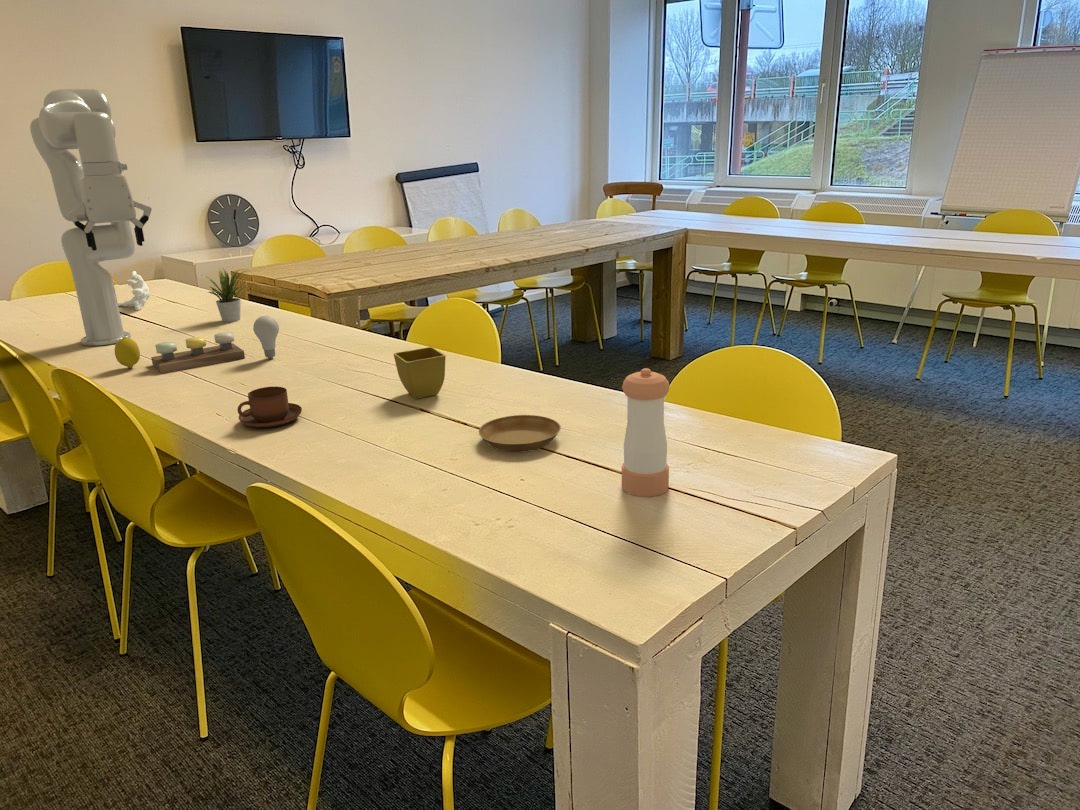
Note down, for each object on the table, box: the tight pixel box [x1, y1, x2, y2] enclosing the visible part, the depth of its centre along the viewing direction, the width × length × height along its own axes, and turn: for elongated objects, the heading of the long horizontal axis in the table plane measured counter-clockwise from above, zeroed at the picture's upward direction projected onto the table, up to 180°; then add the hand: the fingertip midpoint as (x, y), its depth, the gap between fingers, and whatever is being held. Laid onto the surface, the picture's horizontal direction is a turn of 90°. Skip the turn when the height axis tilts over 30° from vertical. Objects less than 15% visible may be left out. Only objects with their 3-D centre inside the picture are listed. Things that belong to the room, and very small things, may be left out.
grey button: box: [213, 331, 235, 351], centre depth 211 cm, size 5×5×4 cm
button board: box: [150, 342, 246, 374], centre depth 208 cm, size 10×20×2 cm, turn 125°
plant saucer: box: [478, 414, 562, 453], centre depth 148 cm, size 15×15×3 cm
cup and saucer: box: [237, 386, 303, 428], centre depth 163 cm, size 12×12×6 cm
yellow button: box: [184, 336, 207, 356], centre depth 207 cm, size 5×5×4 cm
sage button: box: [155, 341, 178, 361], centre depth 203 cm, size 5×5×4 cm
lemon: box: [114, 337, 141, 369], centre depth 203 cm, size 6×6×8 cm
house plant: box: [201, 266, 250, 323], centre depth 249 cm, size 14×14×16 cm
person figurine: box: [118, 270, 151, 311], centre depth 276 cm, size 13×13×18 cm
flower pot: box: [393, 346, 447, 399], centre depth 175 cm, size 9×9×9 cm
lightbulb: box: [252, 315, 280, 360], centre depth 206 cm, size 6×6×11 cm
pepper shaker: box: [621, 367, 671, 498], centre depth 125 cm, size 7×7×19 cm
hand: (117, 247), depth 190 cm, fingers open, 9 cm apart
